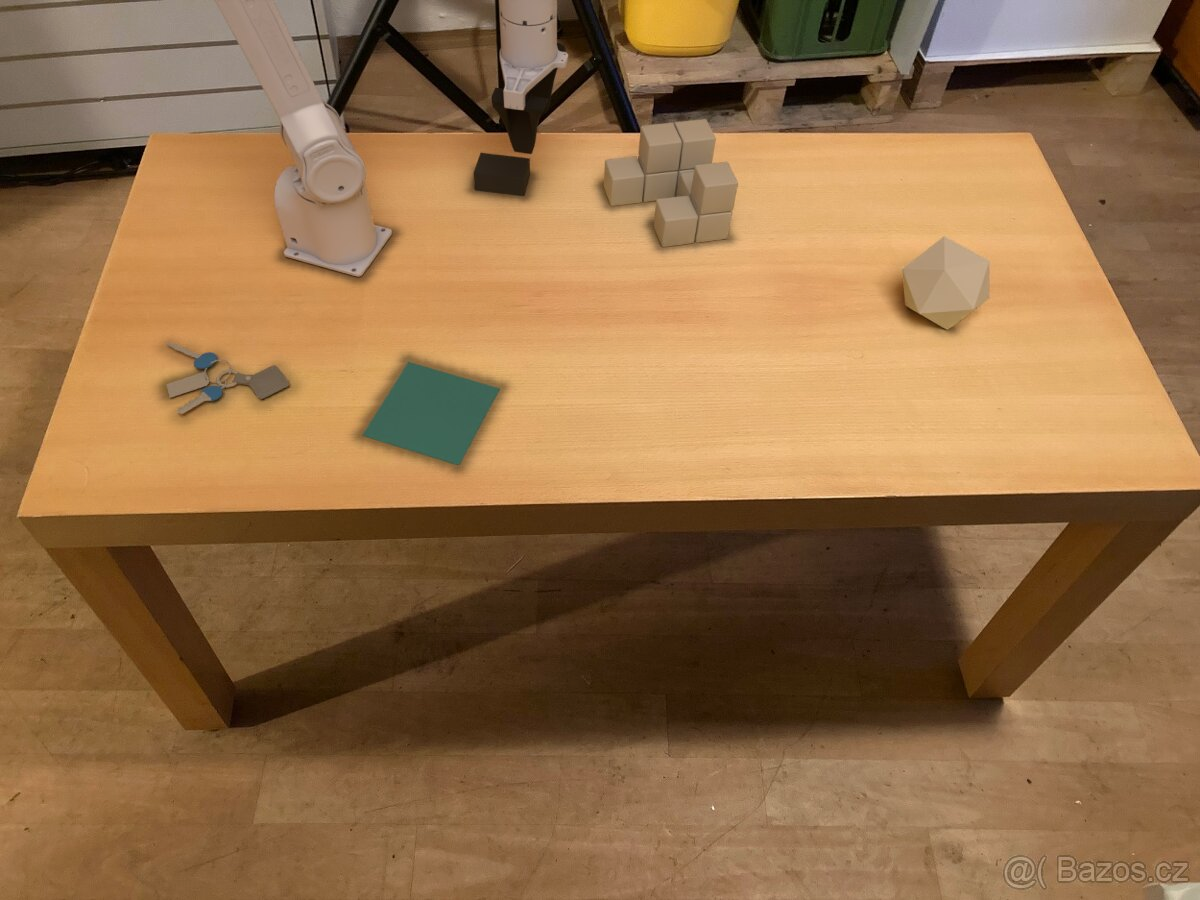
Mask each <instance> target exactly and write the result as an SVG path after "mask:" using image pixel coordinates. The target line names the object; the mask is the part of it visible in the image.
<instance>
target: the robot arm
mask: <svg viewBox="0 0 1200 900" xmlns="http://www.w3.org/2000/svg"><path fill="white" fill-rule="evenodd" d="M214 2H215V3H216V6H217V7H218V9H219V11H220V13H221V15H222V16H223V19H224V20H225V22H226V23H227V25H228V27H229V29H230V31H231V33H232V35H233V36H234V38H235V40H236V43H237V44H238V46H239V47H240V49H241V51H242V53H243V55H244V56H245V59H246V60H247V62H248V65H250V68H251V70H252V71H253V73H254V75H255V77H256V78H257V80H258V82H259V84H260V86H261V88H262V91H264V94H265V96H266V97H267V98H268V101H269V102H270V104H271V106H272V108H273V109H274V112H275V113H276V115H277V117H278V119H279V134H280V137H281V140H282V142H283V143H284V145H285V147H286V148H287V150H288V151H289V154H290V156H291V158H292V161H293V163H294V165H292V164H291V165H289V166H286V167H285V168H283V170H282V171H281V172H280V174H279V176H278V178H277V179H276V182H275V186H274V191H273V205H274V209H275V213H276V216H277V219H278V222H279V225H280V229H281V232H282V235H283V238H284V239H283V240H284V242H285V245H286V248H285V249H284V250H283V256H284V257H285V258H289V259H292V260H296V261H300V262H303V263H307V264H310V265H314V266H317V267H320V268H321V267H322V268H324V269H328V270H332V271H336V272H339V273H343V274H345V275H350V276H353V277H362V276H363V275H364V274H365V272H366V271H367V270H368V268H369V267H370V266H371V264H372V263H373V262H374V260H375V258H376V257H377V256H378V254H379V253H380V252H381V250H382V249H383V248H384V246H385V245H386V244H387V242H388V241H389V239H390V238H391V236H393V232H392V231H393V230H392V229H391V228H387V227H384V226H382V225H381V226H380V225H376V224H375V221H374V217H373V211H372V206H371V202H370V197H369V191H368V187H367V182H366V179H367V168H366V164H365V162H364V160H363V159H362V157H361V156H360V155H359V154H358V152H357V151H356V149H355V147H354V144H353V143H352V141H351V139H350V137H349V135H348V134H347V131H346V130H345V127H344V126H343V121H342V119H341V117H340V114H339V113H338V111H337V110H336V109H335V108H334V107H333V106H331V105H330V104H329V103H327V102H325V100H324V99H323V98H322V97H321V95H320V93H319V91H318V88H317V87H316V84H315V82H314V79H313V78H312V76H311V74H310V72H309V70H308V68H307V66H306V64H305V62H304V60H303V58H302V56H301V54H300V51H299V50H298V47H297V45H296V43H295V41H294V39H293V37H292V35H291V34H290V31H289V29H288V27H287V25H286V23H285V20H284V19H283V17H282V15H281V13H280V11H279V9H278V6H277V4H276V2H275V0H214ZM498 8H499V12H498V13H499V14H498V15H499V32H500V49H499V64H500V68H501V73H502V78H503V82H504V87H503V88H502V87H494V89H493V92H492V93H491V97H490V98H491V105H492V108H493V109H494V110H495V111H496V113H497V114H498V115H499V117H500V118H501V120H502V122H503V124H504V126H505V129H506V133H507V135H508V139H509V142H510V145H511V148H512V150H513V152H514V153H518V154H526V155H532V154H533V151H534V149H535V147H536V142H537V135H538V126H539V122H540V118H541V116H542V115H543V114H547V113H548V111H549V108H550V104H551V99H552V94H553V89H554V83H555V78H556V75H557V71H558V69H565V68H566V67H567V65H568V62H569V54H568V52H566V51H567V50H566V46H565V45H564V44H563V43H560V42H558V0H498Z"/></svg>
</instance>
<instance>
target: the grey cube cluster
mask: <svg viewBox="0 0 1200 900" xmlns="http://www.w3.org/2000/svg"><path fill="white" fill-rule="evenodd" d="M639 132H640V133H639V142H638V143H639V144H638V156H636V155H634V156H625V157H617V158H616V157H615V158H607V159H605V160H604V167H603V168H604V169H603V170H604V171H603V188H604V192H605V194H606V196H607V199H608V202H609V205H610V206H612V207H614V206H623V205H631V204H640V203H642V202H643V203H649V202H655V208H654V216H653V224H652V225H653V228H654V230H655V234H656V236H657V238H658V241H659V243H660V246H661V247H662V248H665V247H666V248H667V247H674V246H681V245H682V246H683V245H690V244H694V243H696V244H697V243H704V242H713V241H722V240H726V239H728V238H729V234H730V233H729V232H730V227H731V223H732V217H733V210H734V208H735V201H736V197H737V192H738V186H739V180H738V179H737V177H736V175H735V173H734V171H733V169H732V167H731V165H730V163H729V162H728V161H722V162H720V161H719V162H713V159H714V152H715V146H716V141H717V138H716V136H715V133H714V131H713V130H712V128H711V126H710V124H709V122H708V119H706V118H703V119H693V120H683V121H675V122H665V123H664V122H663V123H653V124H645V125H641V126H640V131H639Z"/></svg>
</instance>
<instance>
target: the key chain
mask: <svg viewBox="0 0 1200 900" xmlns="http://www.w3.org/2000/svg"><path fill="white" fill-rule="evenodd" d="M165 345H166V346H167V347H170V348H172V349H173V350H175V351H177V352H180V353H182V354H184V355H185V356H189V357H192V358H194V361H193V366H194V367H195V368H196V369H199V370H202V369H203V370H204V371H202V372H199V373H196V374H193V375H190V376H187V377H184V378H181V379H177V380H174V381H172V382H169V383H166V384H165V385H166V389H167V392H168V397H169V399H171V398H174V397H178V396H181V395H182V394H186V393H189V392H192V391H195V390H199V389H201V388H203V389H202V390H201V391H200V395H199V394H198V395H196V396H195V397H194V399H191V400H188V403H187V402H186V403H184V405H183V406H179V407H178V409H177V410H176V411H177V414H178V415H184V414H185V413H187V412H189V411H190V410H192V409H194V408H195V407H198V406H199V405H200V404H202V403H204V402H214V401H217V400H219V399H220V398H221V397H222V396H223V393H224V391H223V390H224V389H225V388H226V389H229V388H233V387H234V386H236V385H245V386H249V388H250V389H251V390H252V391H253V393H254V394H255V395H256V396H257V398H258V399H259V400H264V399H266V398H268V397H270V396H271V395H273V394H275V393H278V392H279V391H282V390H283V389H286V388H287V387H289V386H290V384H291V383H290V381H289V380H288V378H287V377H286V376H285V375H284V374H283V372H282V371H281V370H280V368H279V367H278V366H277V365H275V364H273V365H271V366H269V367H266V368H265V369H262V370H260V371H258V372H256V373H254V374H246V373H241V372H238V371H237V370H235V369H232V365H231V363H230V361H228V360H226V359H218V355H217V354H216V353H215V352H211V351H210V352H204V353H202V354H200V353H199V352H195V351H192V350H190V349H189V348H186V347H184V346H180V345H179V344H176V343H173V342H171V341H167V342H166V343H165ZM216 362H225V363H226V364H227V365H228V366H229V369H225V370H222V371H220V372H219V373H218V375H217V377H216V381H213V380H211V379H210V378H209V376H208V374H207V370H208V368H211V367H212V366H214V365H215V364H216ZM226 374H228V375H227V376H226V377H225V378H223V379H222V380H221V377H223V376H224V375H226ZM231 374H235V375H234V377H233V380H232V383H228V381H227V379H228V378H229V377H230V375H231ZM223 382H224V383H223ZM210 383H212V384H217V385H209V384H210Z"/></svg>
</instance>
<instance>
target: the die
mask: <svg viewBox="0 0 1200 900" xmlns="http://www.w3.org/2000/svg"><path fill="white" fill-rule="evenodd" d="M990 262H991V261H990V260H989V259H988V258H986V257H984V256H982V255H981V254H979V253H977V252H974V251H973V250H971V249H970V248H968V247H965V246H964V245H962V244H961V243H959V242H956V241H955V240H953V239H951V238H949V237H947V236H945V235H944V236H942V237H941V238H940V239H938V240H937V241H936V242H934V243H933V244H932V245H931V246H929V247H928V248H927V249H926V250H924V251H923V252H922V253H920V254H919V255H918V256H916V257H915V258H914V259H913V260H911V261H910V262H909V263H907V264H906V265H905V266H904V267H902V268H901V272H902V285H903V296H904V297H903V298H904V305H905V306H906V307H907V308H909V309H910V310H912V311H914V312H915V313H916V314H919V315H920V316H922V317H924V318H926V319H928V320H929V321H931V322H933V323H934V324H936V325H938V326H939V327H940V328H943V329H945V331H946V330H947V331H949V329H951V328H952V327H954V326H956V324H958V323H960V321H961V320H963V319H964V318H966V317H967V316H969V315H970V314H971V313H973V312H974V311H975V310H977V309H978V308H979V307H980V306H982V305H983V304H984V303H985V302H987V301H989V300H990V299H991V297H990V290H991V289H990V285H991V284H990V283H991V282H990V281H991V280H990V279H991V278H990V273H991V272H990V271H991V270H990V269H991V267H990V265H991V264H990Z"/></svg>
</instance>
